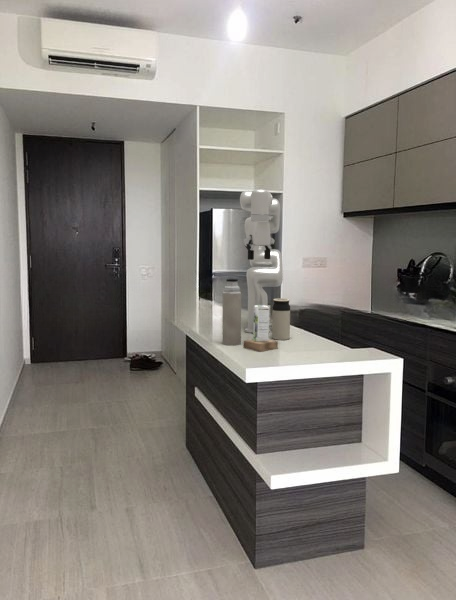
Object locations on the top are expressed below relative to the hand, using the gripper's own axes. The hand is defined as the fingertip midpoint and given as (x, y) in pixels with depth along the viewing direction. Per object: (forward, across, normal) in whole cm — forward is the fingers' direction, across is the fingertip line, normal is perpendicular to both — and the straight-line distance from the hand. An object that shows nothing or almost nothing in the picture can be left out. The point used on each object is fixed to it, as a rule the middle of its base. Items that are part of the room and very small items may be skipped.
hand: (259, 259), depth 230 cm
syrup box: (+33, +8, +10) cm, 36 cm away
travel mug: (+36, -14, 0) cm, 39 cm away
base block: (+36, +8, +10) cm, 38 cm away
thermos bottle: (+36, +11, -5) cm, 38 cm away
